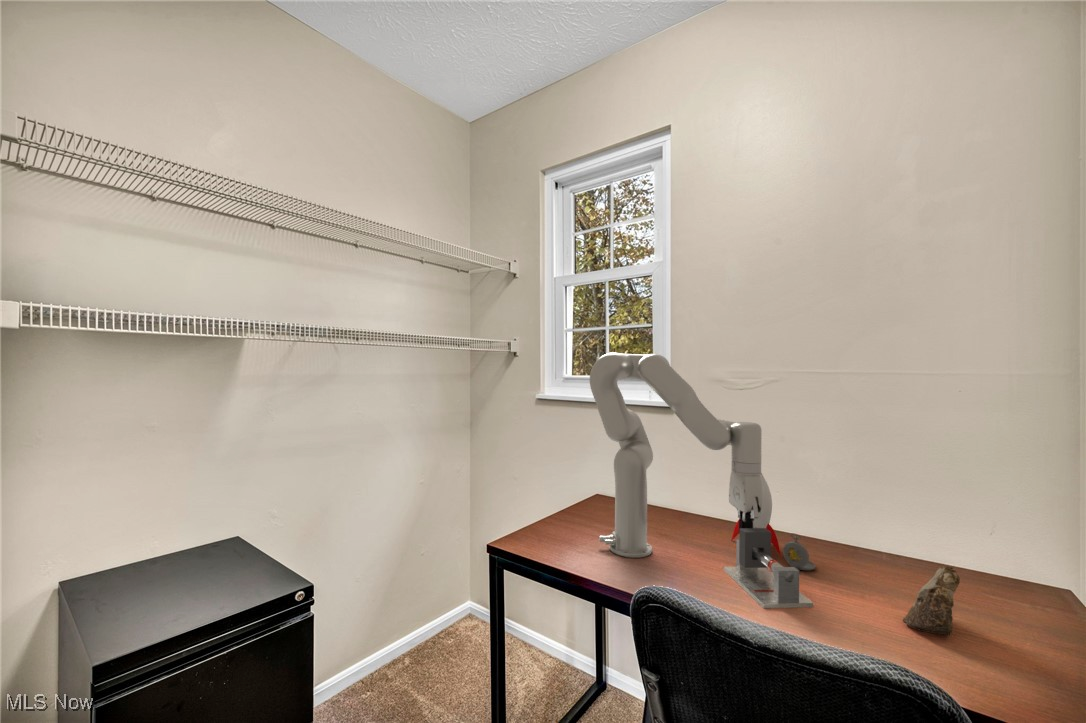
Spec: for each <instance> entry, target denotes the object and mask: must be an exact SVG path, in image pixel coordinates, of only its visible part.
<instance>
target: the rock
mask: <svg viewBox="0 0 1086 723" xmlns="http://www.w3.org/2000/svg"><path fill="white" fill-rule="evenodd" d="M960 582H961V578H960V575H958V573H957V570H956V569H955V568H954V567H953V566H949V565H943V566H941V567H939V568H938V569H937V570H936V572H935V574H934V576H933V577H932V578H930V580H929V581H928V582H927V583H926V584H923V586H921V588H920V590H919V591H918V593H917V596H916V599H915V601H914V603H913V605H912V606H911V607H910V609H908V612H907V614H906V615H905V616H904V618H902V622H903V623H905V624H907V626H909V627H911V628H913V629H917V630H918V631H921V632H926V633H932V634H940V635H944V636H948V637H949V636H951V634H952V633H953V628H954V626H953V625H954V623H953V620H954V619H953V611H952V610H953V607H955V606H954V603H955V602H954V594H955V593H956V591H957V589H958V586H959V585H960Z"/></svg>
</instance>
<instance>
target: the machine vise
mask: <svg viewBox="0 0 1086 723" xmlns="http://www.w3.org/2000/svg"><path fill="white" fill-rule="evenodd" d="M752 555H753V556H754V557H755V558H756V559H758V560H759V561H760V562H762V563H763V564H764V565H765V566H767V567H768V568H744V567H743V566H742V565H741V564H740V563H739V538H737V539H736V558H735V559H736V560H735V561H736V562H735V563H736V565H735V566H724V567H723V571H724V572H725V573H726V574H727V575H728V576H729V577H730V578H731V579H732V580H734V582H736V584H738V586H740V587H741V588H742V589H743V590H744V591H745V592H746V593H747V594H748V595H749V596H750V597H751V598H752V599H753V600H754V601H755V602H756V603H757V604H758V605H759V606H761V607H762V608H763V609H788V608H789V609H790V608H791V609H793V608H794V609H795V608H814V602H813V601H812V600H811V599H809V598H808V597H806V595H804V594H803V593H801V591H800V569H797V568H795V567H792V566H783V565H782V564H781V563H780V562H779V561H777V560H775V559H774V558H772V556H771V557H769V556H768V555H767V554H765V553H764V552H763V551H761V550H760V549H758V548H752Z"/></svg>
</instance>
